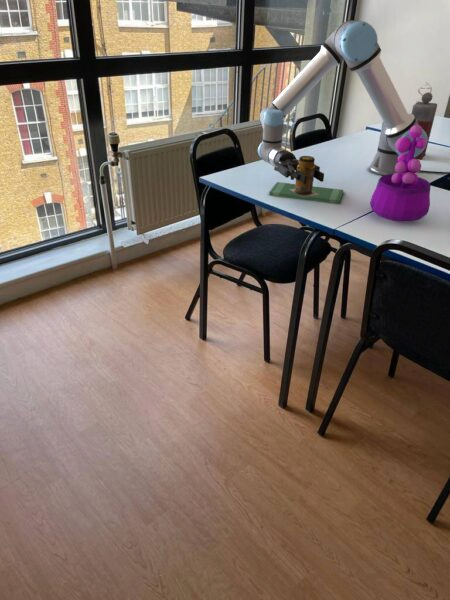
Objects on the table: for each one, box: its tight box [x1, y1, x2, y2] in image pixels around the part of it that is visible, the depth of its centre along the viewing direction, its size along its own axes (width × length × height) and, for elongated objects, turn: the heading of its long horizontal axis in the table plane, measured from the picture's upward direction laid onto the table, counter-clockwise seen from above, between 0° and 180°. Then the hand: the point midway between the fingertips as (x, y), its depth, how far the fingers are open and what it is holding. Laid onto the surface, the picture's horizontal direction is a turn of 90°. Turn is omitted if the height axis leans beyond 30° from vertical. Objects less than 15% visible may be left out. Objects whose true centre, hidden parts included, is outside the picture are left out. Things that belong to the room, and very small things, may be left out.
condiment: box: [289, 155, 319, 197], centre depth 159 cm, size 7×8×12 cm
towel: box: [269, 181, 344, 205], centre depth 174 cm, size 26×12×1 cm, turn 71°
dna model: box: [414, 81, 433, 104], centre depth 224 cm, size 7×6×30 cm
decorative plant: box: [369, 125, 431, 223], centre depth 148 cm, size 19×18×30 cm
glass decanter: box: [410, 91, 438, 161], centre depth 212 cm, size 9×11×28 cm
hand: (314, 178), depth 154 cm, fingers closed on condiment, 6 cm apart
